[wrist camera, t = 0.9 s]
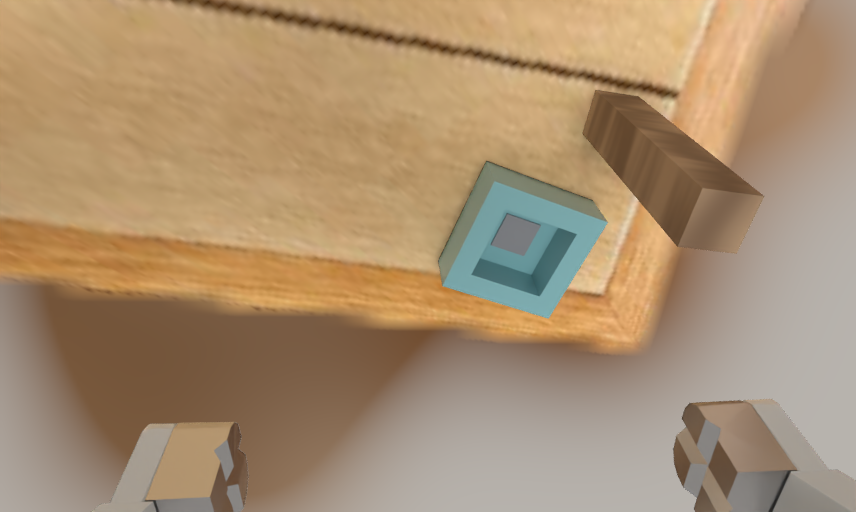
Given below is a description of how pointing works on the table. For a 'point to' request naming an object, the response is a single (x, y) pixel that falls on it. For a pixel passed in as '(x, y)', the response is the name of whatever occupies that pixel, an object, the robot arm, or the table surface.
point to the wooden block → (672, 174)
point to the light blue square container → (519, 241)
